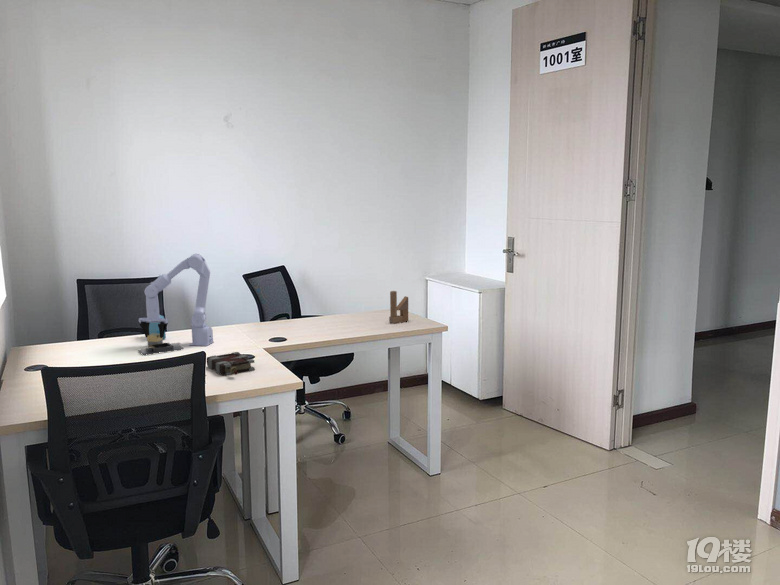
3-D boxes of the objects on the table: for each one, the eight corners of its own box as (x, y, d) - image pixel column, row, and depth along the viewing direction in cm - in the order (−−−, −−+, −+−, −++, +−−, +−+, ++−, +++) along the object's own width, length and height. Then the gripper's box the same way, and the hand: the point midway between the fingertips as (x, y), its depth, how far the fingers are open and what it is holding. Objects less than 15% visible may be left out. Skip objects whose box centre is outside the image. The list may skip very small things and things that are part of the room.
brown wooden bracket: (408, 321, 363) (408, 290, 360) (392, 323, 357) (392, 292, 355) (405, 320, 366) (404, 289, 363) (389, 322, 361) (388, 291, 358)
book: (238, 361, 284) (238, 350, 283) (262, 374, 264) (261, 362, 263) (206, 367, 275) (205, 356, 274) (228, 381, 255) (227, 368, 254)
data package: (166, 339, 326) (164, 316, 324) (157, 341, 323) (155, 317, 322) (157, 335, 335) (155, 313, 333) (148, 336, 333) (147, 314, 331)
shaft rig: (177, 345, 313) (177, 340, 312) (183, 349, 305) (183, 344, 305) (138, 351, 302) (137, 346, 302) (143, 355, 295) (142, 350, 294)
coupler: (162, 345, 314) (162, 333, 313) (157, 347, 309) (156, 335, 308) (153, 345, 315) (152, 333, 314) (148, 347, 310) (147, 335, 309)
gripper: (134, 310, 306) (136, 338, 309) (162, 311, 304) (164, 339, 306) (142, 308, 313) (144, 335, 315) (170, 308, 311) (171, 336, 313)
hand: (154, 337), depth 311 cm, fingers open, 7 cm apart
